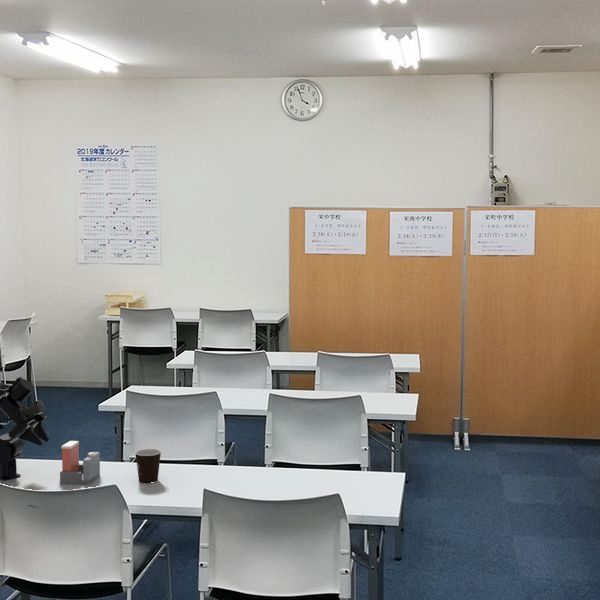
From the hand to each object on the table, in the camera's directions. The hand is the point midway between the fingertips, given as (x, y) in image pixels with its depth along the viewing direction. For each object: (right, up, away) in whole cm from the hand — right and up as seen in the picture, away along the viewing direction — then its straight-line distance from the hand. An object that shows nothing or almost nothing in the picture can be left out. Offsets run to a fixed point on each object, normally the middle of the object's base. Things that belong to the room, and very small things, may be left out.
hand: (45, 442), depth 265 cm
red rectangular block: (+9, -11, 0) cm, 14 cm away
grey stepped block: (+12, -13, 0) cm, 17 cm away
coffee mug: (+36, -13, +1) cm, 38 cm away
